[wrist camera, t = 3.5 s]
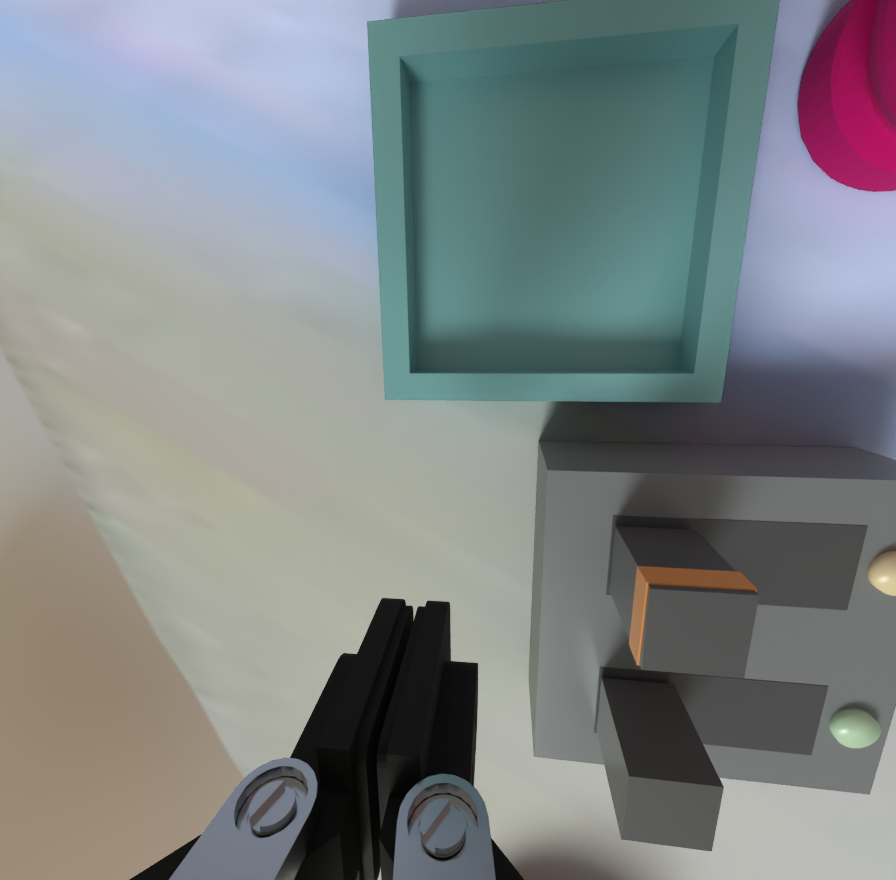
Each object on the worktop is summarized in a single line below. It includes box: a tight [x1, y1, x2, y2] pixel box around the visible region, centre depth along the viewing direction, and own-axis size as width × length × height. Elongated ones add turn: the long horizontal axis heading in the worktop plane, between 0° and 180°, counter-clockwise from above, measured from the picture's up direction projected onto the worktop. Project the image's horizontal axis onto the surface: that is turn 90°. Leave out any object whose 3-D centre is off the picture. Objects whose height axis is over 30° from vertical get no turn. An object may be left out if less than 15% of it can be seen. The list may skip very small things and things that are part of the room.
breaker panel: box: [529, 441, 896, 794], centre depth 17 cm, size 12×12×4 cm
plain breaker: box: [597, 678, 724, 851], centre depth 14 cm, size 2×2×4 cm
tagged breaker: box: [609, 526, 759, 678], centre depth 13 cm, size 3×2×4 cm
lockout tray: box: [367, 0, 779, 403], centre depth 15 cm, size 12×12×2 cm
